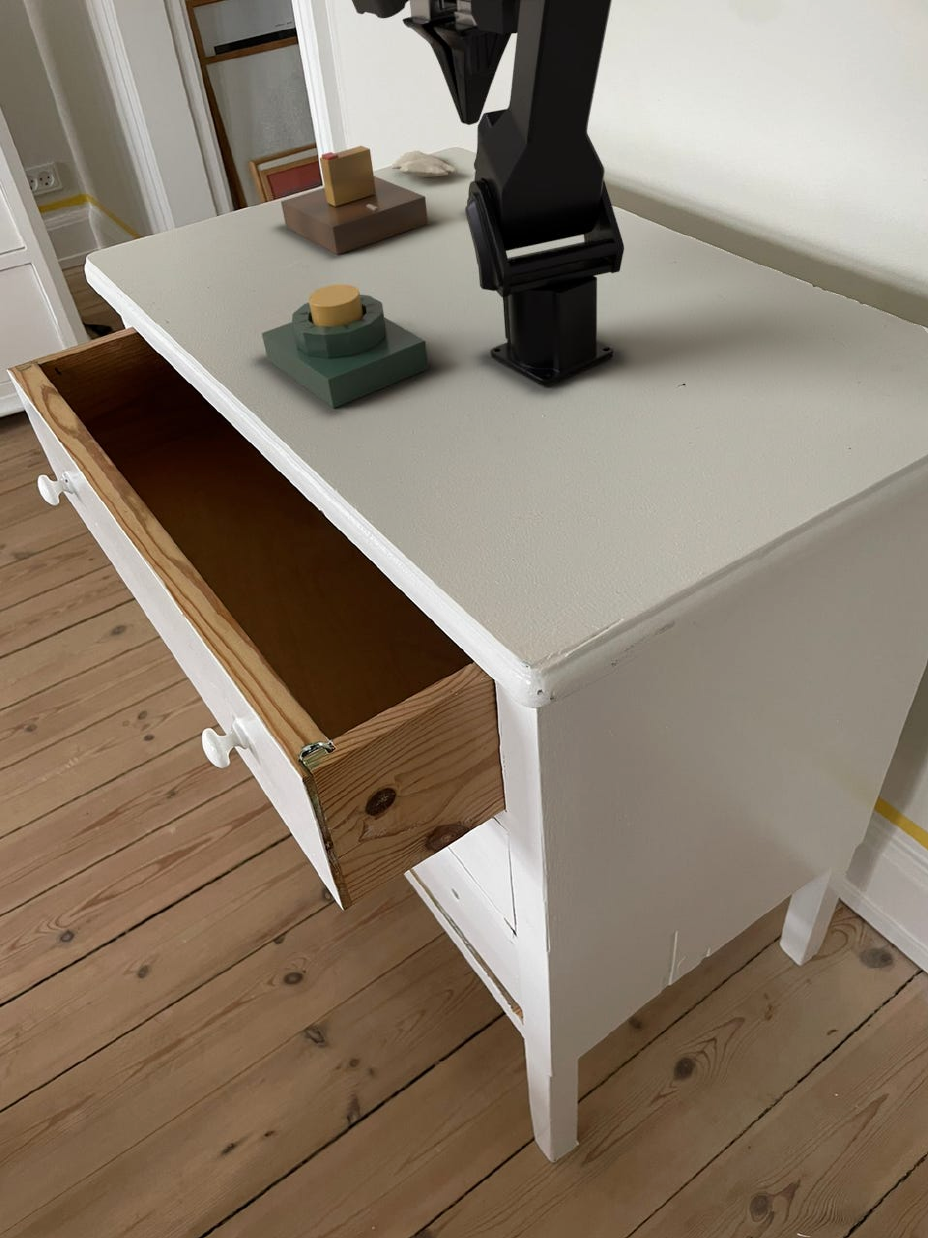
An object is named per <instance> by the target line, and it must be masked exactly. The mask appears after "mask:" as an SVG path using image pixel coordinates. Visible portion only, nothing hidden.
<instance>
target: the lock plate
mask: <svg viewBox="0 0 928 1238" xmlns="http://www.w3.org/2000/svg"><path fill="white" fill-rule="evenodd" d="M374 181H375V188H376V194H374V195H371V196H367V197H364V198H361V199H358V200H355V201H352V202H349V203H345V204H342V205H339V206H336V207H335V206H333V205H331V204H329V203H327V198H326V192H325V187H323V188H320V189H316V190H314V191H310V192H307V193H304V194H301V195H297V196H294V197H291V198H287V199H284V200H282V201H280V204H281V209H282V214H283V218H284V223H285V228H286V229H288V230H290V231H292V232H293V233H295V234H297V235H299V236H301V237H303V238H305V239H306V240H309V241H311V242H312V243H314V244H316V245H318V246H320V247H322V248H324V249H325V250H328V251H329V252H331V253H333V254H335V255H341V254H344V253H347V252H350V251H353V250H356V249H358V248H361V247H365V246H367V245H370V244H373V243H376V242H379V241H382V240H384V239H385V240H386V239H387V238H391V237H393V236H396V235H400V234H402V233H405V232H407V231H411V230H413V229H417V228H419V227H423V226H425V225H428V224H429V219H428V209H427V201H426V199H427V198H426V196H424V195H422V194H420V193H417V192H415V191H412V190H410V189H408V188H405V187H402V186H400V185H398V184H395V183H394V182H390V181H387V180H386V179H383V178H381V177H378V176H376V175H374Z"/></svg>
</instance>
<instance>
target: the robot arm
mask: <svg viewBox="0 0 928 1238" xmlns="http://www.w3.org/2000/svg"><path fill="white" fill-rule="evenodd" d="M612 1H613V0H351V2H352V4H353V7H354V9H355V12H356V13H357V14H359V15H364V14H365V13H367V14H372V15H375V16H376V17H377V18H379V19H383V20H384V19H389V18H391V17H394V16H396V15H397V14H399V13H400V12H402V11H403V10H404V9H405V8H406V5H407V3H408V2H409V7H410V16H409V17H404V18H403V19H402V22H403V24H404V26H405V27H407V28H409V29H410V30H411V29H412V30H413V31H414V32H415V33H416V34H417V35H418V36H420V37H421V38H422V39H424V40H425V41H426V42H427V43H428V44H429V46H430V47H431V49H432V51H433V54H434V56H435V58H436V60H437V62H438V65H439V67H440V70H441V72H442V75H443V77H444V78H443V79H444V80H445V83H446V86H447V88H448V90H449V94H450V96H451V99H452V101H453V104H454V107H455V110H456V112H457V115H458V118H459V120H460V122H461V123H462V124H464V125H468V126H471V125H474V124H477V123H478V124H477V129H476V130H477V135H476V136H477V139H476V140H477V144H476V154H475V159H474V162H473V169H474V170H475V171H474V178H473V179H474V180H472V181H470V183H469V185H468V196H467V199H466V206H465V208H464V211H465V216H466V220H467V224H468V228H469V232H470V236H471V240H472V244H473V248H474V253H475V259H476V264H477V267H478V279H479V287H480V288H481V290H485V291H492V292H496V293H497V294H498V295H499V296H500V297H501V298H502V304H503V305H502V307H503V319H504V322H503V323H504V337H505V340H506V341H507V342H505V343H502V344H499V345H497V346H494V347H493V348H490V357H491V358H492V359H493V360H494V361H495V360H496V361H497V362H498V363H501V364H502V365H505V366H506V367H508V368H510V369H512V370H514V371H515V372H517V373H518V374H521V375H522V376H524V377H526V378H528V379H530V380H531V381H533V382H536V383H537V384H539V385H540V386H551V385H553V384H555V383H557V382H559V381H561V380H564V379H566V378H568V377H570V376H573V375H576V374H577V373H579V372H582V371H584V370H586V369H589V368H591V367H592V366H595V365H597V364H600V363H601V362H603V361H606V360H608V359H611V358H612V357H614V348H613V347H612V346H610V345H608V344H606V343H603V342H601V341H599V340H598V277H597V276H599V275H605V274H609V273H610V274H615V273H619V272H621V268H622V267H621V266H622V263H623V262H622V261H623V256H624V252H625V245H624V241H623V238H622V234H621V231H620V228H619V224H618V221H617V217H616V214H615V211H614V208H613V205H612V201H611V198H610V195H609V192H608V188H607V185H606V181H605V167H604V165H603V163H602V160H601V158H600V157H599V154H598V153H597V150H596V148H595V145H594V144H593V142H592V140H591V138H590V136H589V134H588V128H589V127H588V126H589V122H590V121H589V120H590V115H591V110H592V105H593V99H594V95H595V90H596V84H597V79H598V74H599V68H600V64H601V58H602V54H603V49H604V43H605V37H606V32H607V27H608V21H609V16H610V12H611V6H612ZM513 34H516V41H515V51H514V59H513V60H514V61H513V70H512V79H511V89H510V96H509V104H508V106H507V108H504V109H500V110H499V109H498V110H493V111H488V112H484V113H483V110H484V108H485V104H486V101H487V99H488V95H489V93H490V90H491V87H492V84H493V82H494V79H495V76H496V73H497V70H498V68H499V65H500V62H501V60H502V57H503V55H504V53H505V50H506V48H507V46H508V43H509V41H510V39H511V37H512V35H513ZM579 236H583V239H584V240H583V241H582V242H581V241H580V242H576V243H571V244H567V245H563V246H558V247H553V248H549V249H543V250H538V251H534V252H529V253H524V254H520V255H515V256H511V257H508V254H507V252H508V251H513V250H517V249H522V248H527V247H533V246H536V245H540V244H541V245H542V244H545V243H550V242H555V241H560V240H564V239H569V238H570V239H571V238H575V237H579Z"/></svg>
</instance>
